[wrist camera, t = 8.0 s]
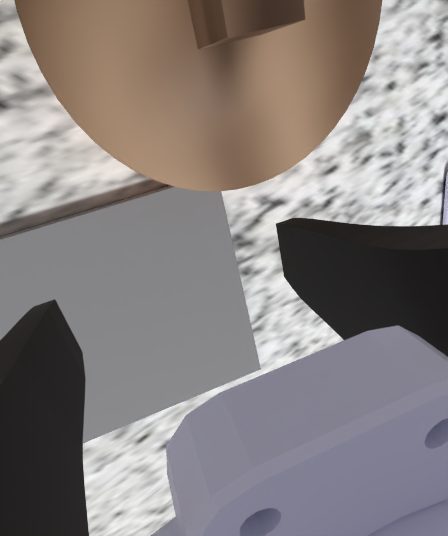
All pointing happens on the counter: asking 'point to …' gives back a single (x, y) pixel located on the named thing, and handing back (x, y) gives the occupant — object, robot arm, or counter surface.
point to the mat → (138, 299)
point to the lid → (203, 79)
